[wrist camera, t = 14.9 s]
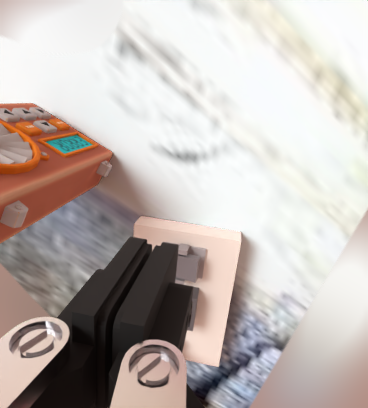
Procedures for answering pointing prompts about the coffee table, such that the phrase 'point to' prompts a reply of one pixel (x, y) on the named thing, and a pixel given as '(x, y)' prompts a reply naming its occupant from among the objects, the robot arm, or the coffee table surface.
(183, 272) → the rocker switch
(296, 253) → the coffee table surface
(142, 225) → the switch board
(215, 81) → the coffee table surface
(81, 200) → the coffee table surface
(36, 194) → the control panel
